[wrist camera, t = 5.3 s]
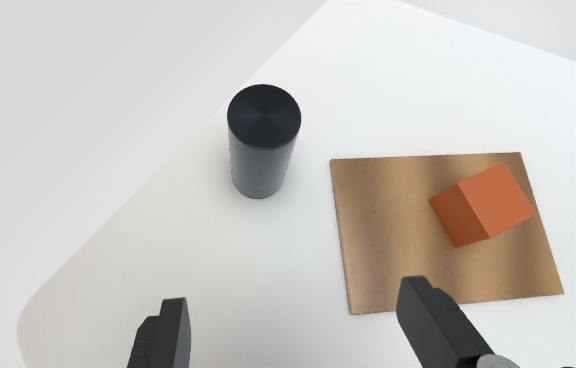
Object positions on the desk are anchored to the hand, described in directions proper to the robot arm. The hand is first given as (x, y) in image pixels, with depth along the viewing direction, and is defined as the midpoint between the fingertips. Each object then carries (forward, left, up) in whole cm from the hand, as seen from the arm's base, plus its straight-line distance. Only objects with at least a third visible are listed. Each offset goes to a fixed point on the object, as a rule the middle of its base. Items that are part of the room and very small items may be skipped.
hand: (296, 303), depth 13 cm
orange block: (+19, +7, -17) cm, 26 cm away
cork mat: (+17, +6, -18) cm, 25 cm away
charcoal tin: (0, +12, -18) cm, 21 cm away
